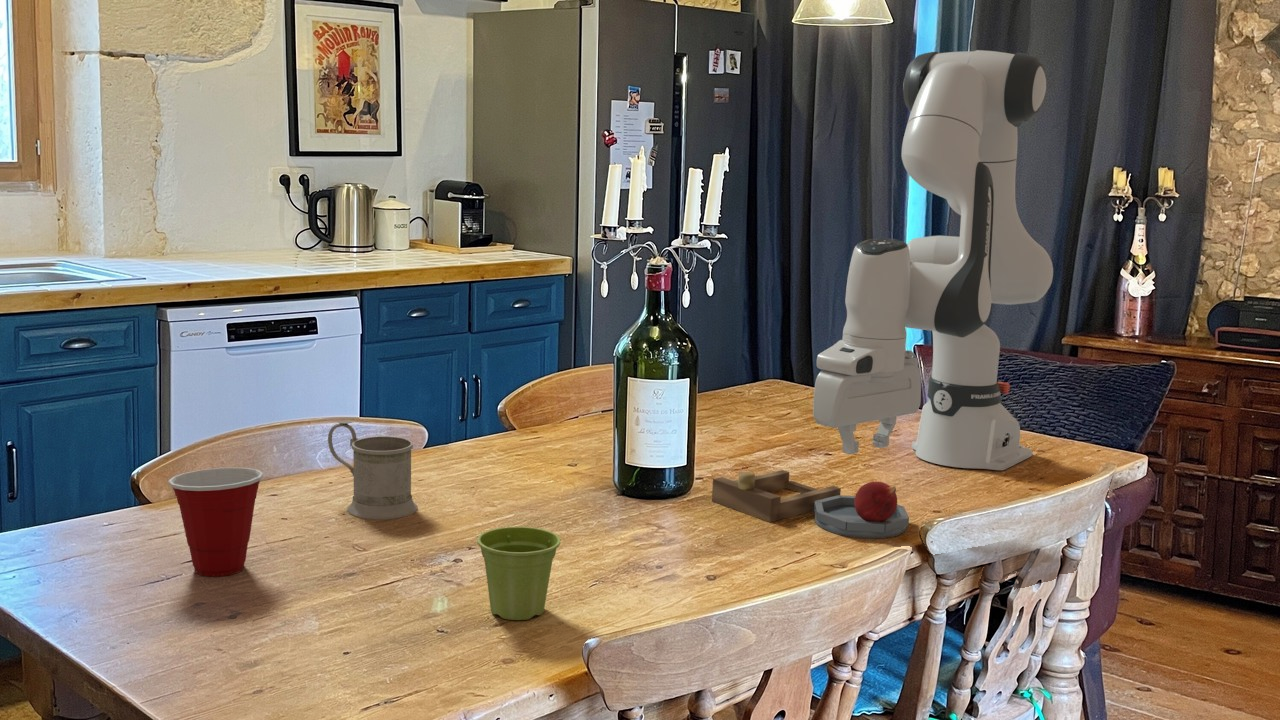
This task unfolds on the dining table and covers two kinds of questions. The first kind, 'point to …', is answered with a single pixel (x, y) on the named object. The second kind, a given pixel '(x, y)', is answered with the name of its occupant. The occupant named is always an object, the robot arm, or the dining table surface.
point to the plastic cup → (217, 516)
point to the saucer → (856, 519)
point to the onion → (875, 501)
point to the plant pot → (518, 569)
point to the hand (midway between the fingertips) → (865, 450)
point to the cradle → (767, 495)
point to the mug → (379, 475)
